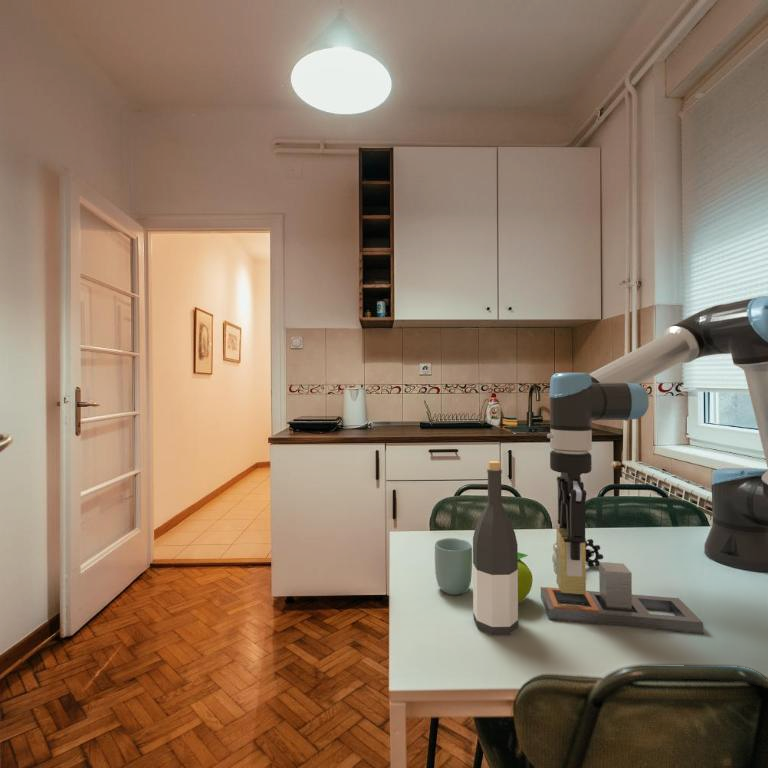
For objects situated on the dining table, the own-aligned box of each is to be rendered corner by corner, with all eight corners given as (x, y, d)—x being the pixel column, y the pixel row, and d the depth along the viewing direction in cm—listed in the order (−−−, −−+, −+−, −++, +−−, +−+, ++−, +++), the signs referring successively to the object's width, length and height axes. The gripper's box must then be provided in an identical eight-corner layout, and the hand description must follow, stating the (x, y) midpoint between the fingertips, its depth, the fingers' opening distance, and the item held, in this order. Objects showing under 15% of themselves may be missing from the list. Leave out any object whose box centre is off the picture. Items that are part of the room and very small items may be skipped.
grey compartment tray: (678, 608, 86) (678, 596, 86) (703, 633, 77) (703, 620, 77) (540, 596, 91) (540, 585, 91) (548, 619, 82) (548, 607, 82)
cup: (449, 602, 88) (449, 553, 88) (428, 587, 95) (428, 541, 95) (479, 594, 92) (479, 546, 92) (457, 579, 99) (456, 535, 99)
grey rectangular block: (623, 609, 86) (623, 563, 86) (631, 621, 81) (631, 572, 81) (599, 607, 86) (599, 561, 87) (606, 618, 82) (606, 571, 82)
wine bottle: (491, 640, 75) (490, 467, 75) (464, 618, 82) (463, 460, 83) (527, 630, 78) (526, 463, 78) (498, 609, 86) (498, 457, 86)
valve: (566, 580, 99) (603, 571, 104) (566, 551, 99) (603, 543, 104) (544, 569, 105) (580, 561, 110) (544, 542, 105) (580, 534, 110)
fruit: (480, 591, 93) (480, 544, 93) (524, 591, 93) (523, 544, 93) (489, 613, 84) (489, 561, 84) (537, 614, 84) (537, 562, 84)
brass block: (579, 584, 87) (579, 529, 87) (585, 594, 83) (585, 536, 83) (556, 582, 88) (556, 528, 88) (561, 592, 84) (561, 535, 84)
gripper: (542, 444, 95) (543, 551, 95) (559, 457, 78) (559, 588, 78) (579, 445, 94) (579, 554, 93) (604, 458, 76) (605, 591, 76)
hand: (570, 569), depth 85 cm, fingers closed on brass block, 4 cm apart
